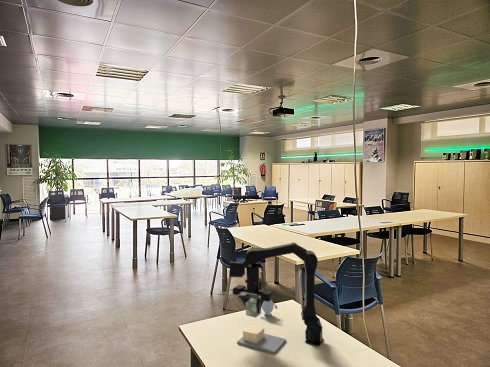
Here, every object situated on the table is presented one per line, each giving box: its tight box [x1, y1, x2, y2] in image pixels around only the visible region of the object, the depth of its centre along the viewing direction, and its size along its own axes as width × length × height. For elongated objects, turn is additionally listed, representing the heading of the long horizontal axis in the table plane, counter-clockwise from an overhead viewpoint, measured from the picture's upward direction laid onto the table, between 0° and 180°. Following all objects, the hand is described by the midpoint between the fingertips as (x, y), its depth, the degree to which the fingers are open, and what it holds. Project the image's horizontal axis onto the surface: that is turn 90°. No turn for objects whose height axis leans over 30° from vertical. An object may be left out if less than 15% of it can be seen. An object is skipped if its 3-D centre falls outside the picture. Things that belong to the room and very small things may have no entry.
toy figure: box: [261, 299, 278, 317], centre depth 175 cm, size 11×6×12 cm, turn 75°
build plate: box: [236, 324, 287, 355], centre depth 148 cm, size 18×12×5 cm, turn 60°
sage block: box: [245, 297, 262, 318], centre depth 150 cm, size 5×5×6 cm
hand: (253, 311), depth 150 cm, fingers closed on sage block, 5 cm apart
